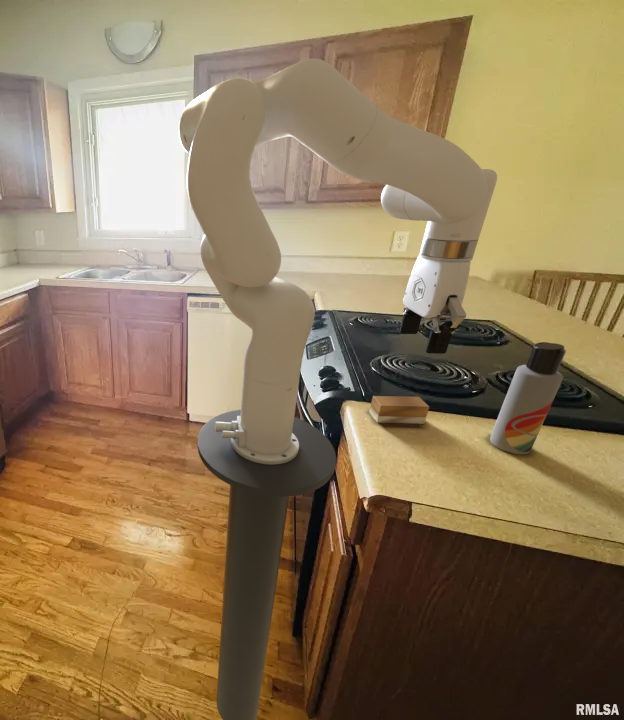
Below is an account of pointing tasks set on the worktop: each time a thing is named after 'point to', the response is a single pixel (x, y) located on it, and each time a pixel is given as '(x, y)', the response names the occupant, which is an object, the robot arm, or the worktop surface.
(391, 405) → the scrub brush
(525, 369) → the lotion bottle
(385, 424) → the brown square tile
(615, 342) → the worktop surface
